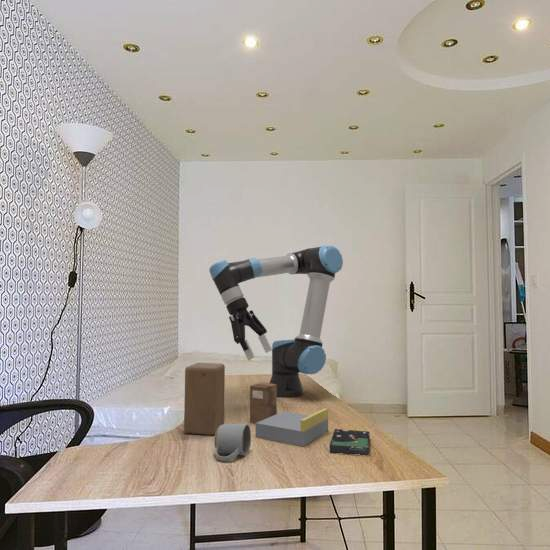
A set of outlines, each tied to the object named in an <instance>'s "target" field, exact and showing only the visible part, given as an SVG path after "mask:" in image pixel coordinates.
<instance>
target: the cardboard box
mask: <svg viewBox="0 0 550 550" xmlns="http://www.w3.org/2000/svg"><path fill="white" fill-rule="evenodd" d="M277 398H278V396H277V384H270V382H259V383H255V384H252V385H250V386H249V423H251V424H255V425H256V423H257V422H259V421H262V420H264V419H266V418H269V417H271V416H274V415H276V414H278V410H277V409H278V408H277V406H278V403H277V401H278V399H277Z"/></svg>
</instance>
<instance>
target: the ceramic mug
mask: <svg viewBox="0 0 550 550" xmlns="http://www.w3.org/2000/svg"><path fill="white" fill-rule="evenodd" d="M213 441H214V447H215V454H214V455H215V456H216V459H217V460H218V461H219V462H224V463H228V462H231V461H233V460H235V459H236V457H237V456H244V457H245V456H247V455H248V454H249V452H250V449H251V444H252V443H251V442H252V431H251V428H250V425H249V424H248V423H224V424H223V425H220V426H219V427H218V428H217V430H216V433H215V434H214V440H213ZM219 453H221V454H225V455H226V454H227V456H221V455H220V454H219Z"/></svg>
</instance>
